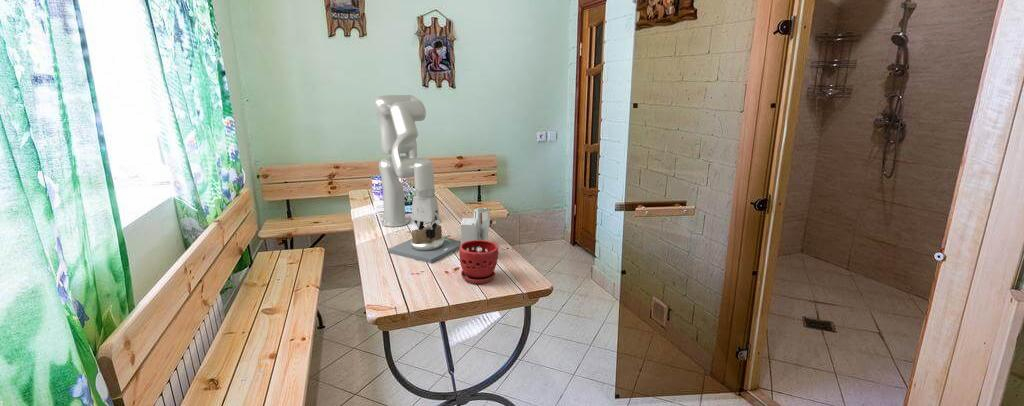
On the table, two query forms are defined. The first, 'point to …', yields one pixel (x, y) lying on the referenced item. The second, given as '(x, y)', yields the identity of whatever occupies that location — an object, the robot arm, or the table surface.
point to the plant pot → (478, 261)
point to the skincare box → (469, 230)
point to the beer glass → (482, 222)
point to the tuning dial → (427, 239)
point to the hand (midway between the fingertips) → (427, 236)
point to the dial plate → (429, 255)
